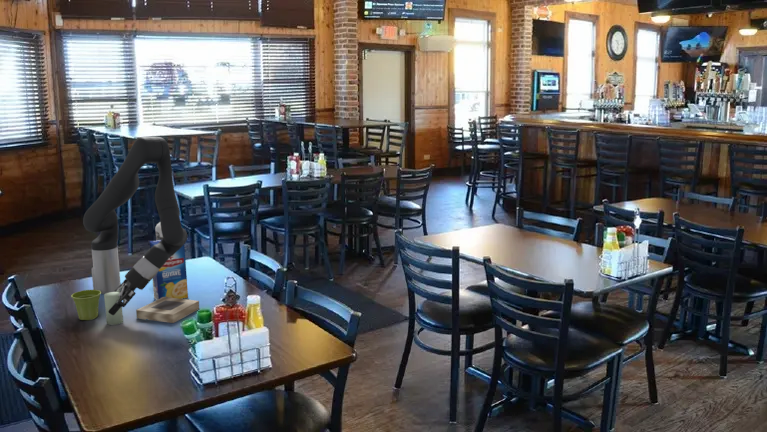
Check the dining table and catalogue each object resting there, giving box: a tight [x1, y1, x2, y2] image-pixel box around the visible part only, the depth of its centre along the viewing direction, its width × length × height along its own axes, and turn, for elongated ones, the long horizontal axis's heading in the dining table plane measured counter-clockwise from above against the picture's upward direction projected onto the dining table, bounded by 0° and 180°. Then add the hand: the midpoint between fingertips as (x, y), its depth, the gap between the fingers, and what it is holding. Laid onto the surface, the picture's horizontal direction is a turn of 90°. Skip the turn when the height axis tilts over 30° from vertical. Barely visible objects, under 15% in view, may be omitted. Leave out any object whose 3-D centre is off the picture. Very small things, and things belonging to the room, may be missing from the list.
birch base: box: [135, 297, 200, 324], centre depth 235 cm, size 15×15×3 cm
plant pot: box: [71, 289, 101, 321], centre depth 231 cm, size 9×9×9 cm
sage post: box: [103, 292, 124, 326], centre depth 227 cm, size 5×5×10 cm
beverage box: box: [149, 239, 189, 301], centre depth 251 cm, size 7×11×22 cm, turn 123°
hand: (109, 309), depth 226 cm, fingers open, 8 cm apart
